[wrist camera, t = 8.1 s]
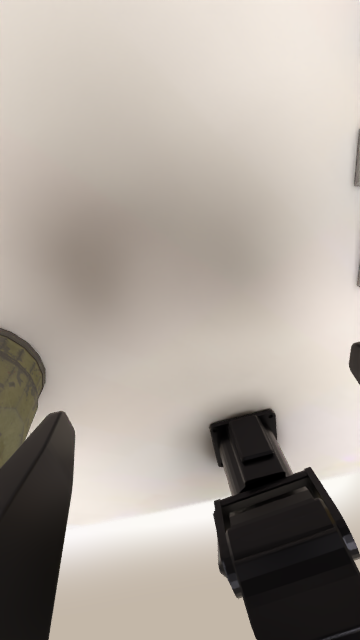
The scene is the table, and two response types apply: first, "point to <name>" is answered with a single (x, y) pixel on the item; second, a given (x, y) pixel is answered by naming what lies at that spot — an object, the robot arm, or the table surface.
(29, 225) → the table surface
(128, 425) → the table surface
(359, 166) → the chain end
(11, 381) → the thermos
